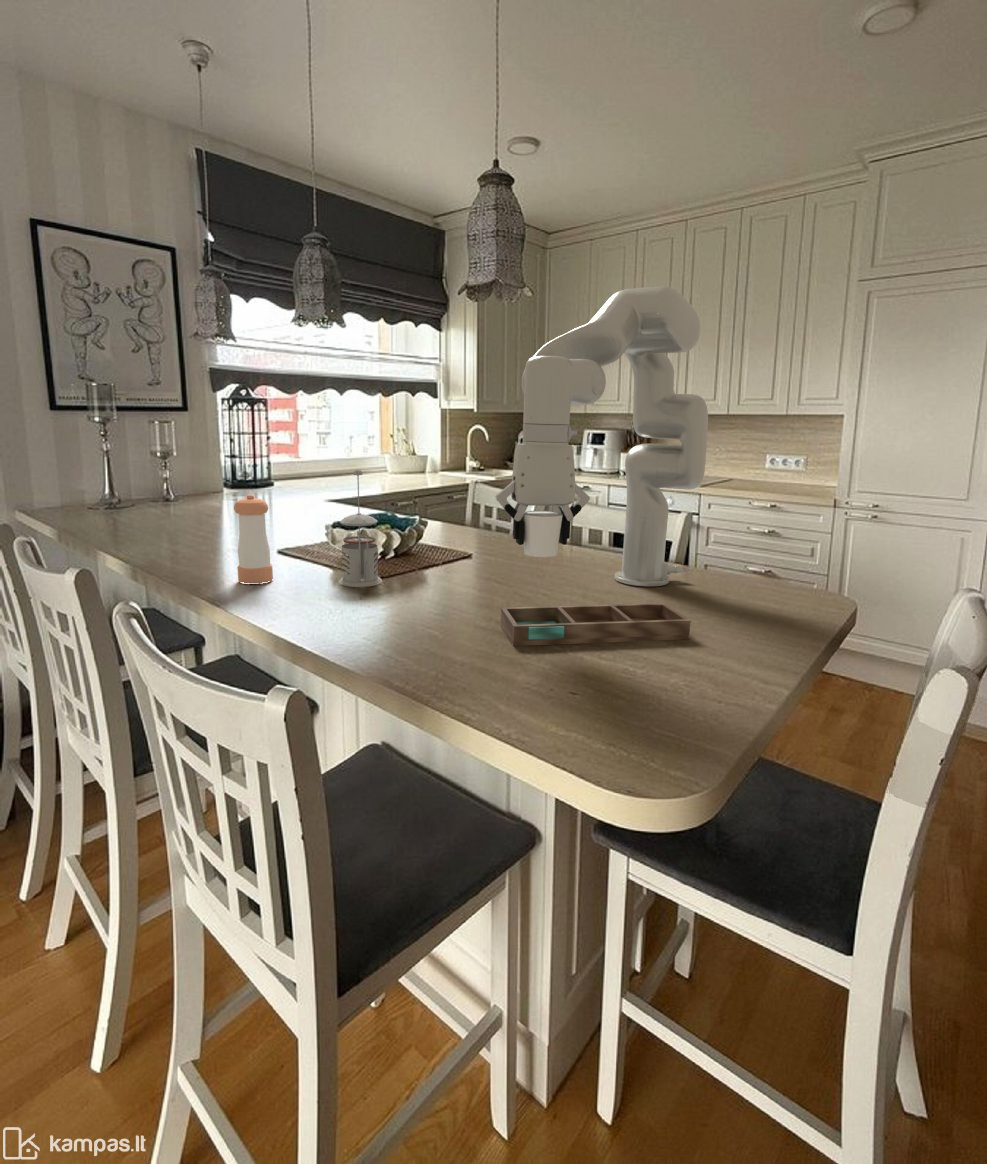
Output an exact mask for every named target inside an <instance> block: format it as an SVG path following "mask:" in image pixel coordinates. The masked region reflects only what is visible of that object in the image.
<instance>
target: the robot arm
mask: <svg viewBox="0 0 987 1164" xmlns="http://www.w3.org/2000/svg"><path fill="white" fill-rule="evenodd" d="M700 334H701V321H700V317H699V315H698V312H697V311H696V309H695V307H694V306H693V305H692V304H691V303H690V302H689V301H688V300H687V299H686V298H685V297H684V295H682V294H681V293H680V292H679V291H677V290H676V289H674V288H673V287H670V286H668V285H667V286H665V285H661V286H660V285H659V286H649V287H633V288H626V289H622V290H619V291H616V292H615V293H613V294H612V295H611V296H610V297H609V298H608V299H607V300H606V302H605V303H604V304H602V306H601V308H599V310H598V311H597V312H596V313H595V315H593V317H592V318H591V319H590V320H589V322H588V323H587V322H586V324H583V325H580V326H578V327H575V328H574V329H572V330H570V331H568V332H566V333H564V334H562V335H559V336H557V337H555V338H554V339H552V340H550V341H549V342H547V343H545V344H543V345H542V347H540V349H538V350H537V352H536V353H535V354H534V355H533V356H532V357H530V358H528V360H527V361H526V363H525V368H524V371H523V373H522V376H521V390H522V393H523V416H522V417H523V419H522V421H523V422H522V423H523V424H522V442H521V443H517V445H516V449H515V453H514V458H513V460H514V461H513V468H512V475H511V482H510V483H509V484H507V485H506V486H505V487H504V488H503V489H502V490H500V491H499V492H498V493H497V494H496V495H495V500H496V501H497V502H498V504H499V505H500V506H501V507H502V508H503V510H504V511H505V512H506V513H507V514H508V515H509V516H510V517H511V519H512V521H513V522H512V523H513V524H512V539H514V540H515V543H516V544H517V545H519V546H522V545H524V521H522V520H523V515H524V513H525V512H526V511H527V509H528V507H529V506H530V507H531V506H538V507H539V506H542V507H546V506H549V507H550V506H551V507H552V506H553V507H555V506H556V507H557V508H558V509H559V513H561V514H563V515H562V522H561V529H560V536H559V543H560V544H562V545H567V544H568V540H570V537H571V522H572V521H573V520H574V518H575V517H576V516H577V515H578V514H579V513H580V512H581V511H582V510H583V508H584V507H585V506H586V505H587V504H588V503H589V501H590V500H591V499H590V498H591V497H590V496H589V495H588V494H587V493H586V492H585V491H584V490H583V489H582V487H580V486H579V485H578V484H577V483H576V471H575V469H576V468H575V459H574V458H575V457H574V450H573V449H574V448H573V445H572V444H569V442H570V441H571V439H574V438H575V439H576V438H577V437H578V429H575V428H574V429H573V428H572V427H571V425H570V418H571V406H588V405H591V404H594V403H596V402H597V401H599V399H601V397H602V395H603V394H604V392H605V389H606V386H607V385H606V384H607V381H606V380H607V379H606V374H605V371H604V368H603V367H604V366H607V365H610V364H613V363H615V362H616V361H617V360H619V359H621V357H623V355H624V354H625V356H626V358H627V359H628V361H629V363H630V366H631V368H632V374H633V397H632V399H633V401H632V402H633V403H632V404H633V405H632V407H633V409H632V421H633V423H632V424H633V430H634V432H635V433H636V435H638V436H639V437H642V438H649V439H667V440H679V441H680V442H681V444H678V445H677V444H667V443H665V444H663V443H641V444H637V445H635V446H633V447H632V448H630V449H629V450H628V452H627V454H626V456H625V461H624V468H625V469H624V470H625V471H624V472H625V480H626V481H625V482H626V508H625V518H624V519H625V521H624V522H625V523H624V534H623V546H622V547H623V550H622V559H621V560H622V562H621V563H622V564H621V570H619V571H616V572H615V573H614V579H615V580H616V581H617V582H618V583H621V584H624V585H630V586H636V587H637V586H638V587H662V586H666V585H667V584H669V583H670V577H669V575H671V574H683V572H684V566H683V565H682V564H679V565H678V564H676V565H675V564H673V563H668V562H666V561H665V553H666V542H667V532H668V520H669V504H668V501H667V498H666V497H665V495H664V494H663V492H662V490H661V489H664V488H665V489H674V490H675V489H676V490H694V489H697V488H698V487H699V486H700V485H701V484H702V482H703V481H704V477H705V471H706V461H707V444H708V443H707V442H708V430H709V429H708V426H709V425H708V424H709V410H708V405H707V403H706V400H705V399H704V398H703V397H702V396H700V395H698V394H692V393H675V389H674V388H675V383H674V382H675V370H674V369H675V368H674V366H673V363H672V361H671V360H670V358H669V357H668V355H667V354H671V353H672V354H673V353H675V354H676V353H678V354H679V353H686V352H689V351H691V350H692V349H693V348H695V346H696V345H697V344H698V342H699V338H700ZM575 496H576V497H577V500H576V502H575V503H574V500H575ZM508 497H511V500H512V501H514V502H516V504H515V505H514V507H513V506H512V505H511V503H510V502H509V500H508ZM572 503H573V504H572ZM571 504H572V505H571Z"/></svg>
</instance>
